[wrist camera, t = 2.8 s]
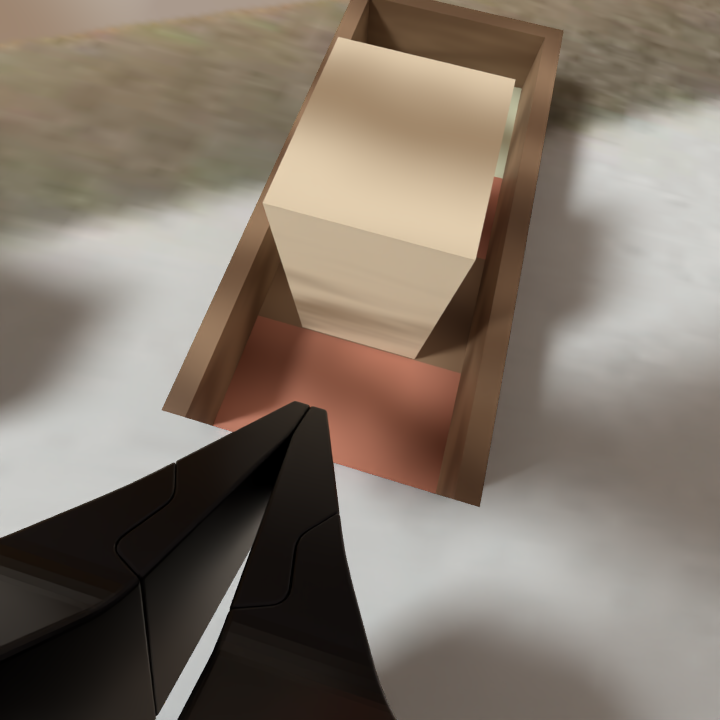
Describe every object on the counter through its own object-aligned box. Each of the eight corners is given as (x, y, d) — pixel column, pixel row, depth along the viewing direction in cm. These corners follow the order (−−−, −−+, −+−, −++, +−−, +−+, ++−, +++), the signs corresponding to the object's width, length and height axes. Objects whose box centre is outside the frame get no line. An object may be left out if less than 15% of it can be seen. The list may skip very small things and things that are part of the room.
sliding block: (414, 359, 18) (475, 260, 9) (302, 327, 18) (262, 202, 10) (443, 246, 20) (515, 79, 11) (342, 219, 20) (338, 36, 12)
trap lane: (450, 498, 17) (479, 507, 13) (201, 422, 18) (161, 409, 14) (530, 96, 25) (563, 30, 21) (357, 54, 26) (358, -18, 22)
